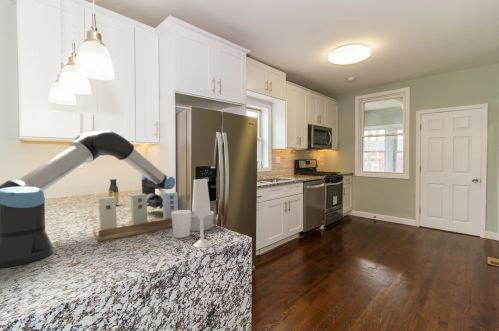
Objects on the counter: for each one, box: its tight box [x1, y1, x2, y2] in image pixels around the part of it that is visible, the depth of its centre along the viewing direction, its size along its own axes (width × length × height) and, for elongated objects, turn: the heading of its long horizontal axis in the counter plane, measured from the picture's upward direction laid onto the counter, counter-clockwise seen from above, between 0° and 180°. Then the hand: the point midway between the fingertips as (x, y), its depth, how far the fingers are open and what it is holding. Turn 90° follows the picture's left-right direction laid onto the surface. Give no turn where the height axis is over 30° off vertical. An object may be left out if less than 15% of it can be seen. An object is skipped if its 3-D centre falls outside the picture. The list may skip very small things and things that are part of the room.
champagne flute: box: [191, 178, 212, 248], centre depth 88 cm, size 7×7×24 cm
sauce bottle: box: [108, 178, 120, 205], centre depth 175 cm, size 7×6×20 cm
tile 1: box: [98, 196, 118, 230], centre depth 105 cm, size 4×6×14 cm
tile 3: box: [162, 191, 179, 220], centre depth 117 cm, size 4×6×14 cm
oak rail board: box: [92, 217, 173, 242], centre depth 112 cm, size 16×36×4 cm, turn 129°
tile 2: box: [130, 193, 148, 225], centre depth 114 cm, size 4×6×14 cm
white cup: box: [171, 209, 192, 239], centre depth 100 cm, size 8×8×10 cm
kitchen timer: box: [155, 189, 167, 199], centre depth 180 cm, size 14×14×15 cm
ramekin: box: [190, 210, 215, 232], centre depth 111 cm, size 13×13×7 cm
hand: (168, 205), depth 121 cm, fingers closed
